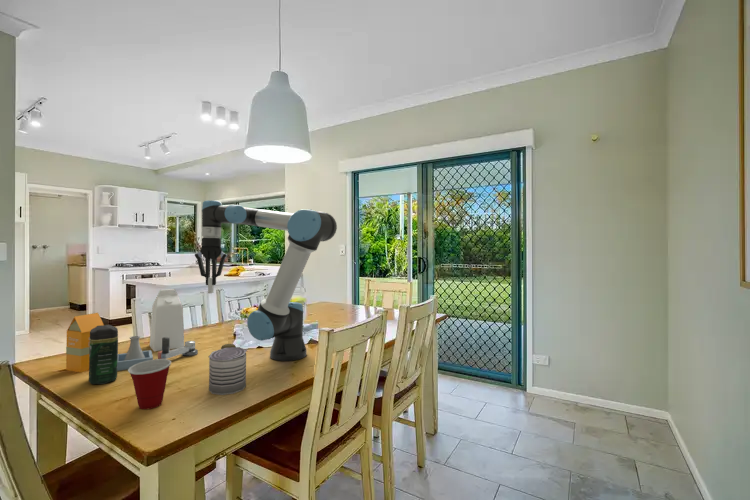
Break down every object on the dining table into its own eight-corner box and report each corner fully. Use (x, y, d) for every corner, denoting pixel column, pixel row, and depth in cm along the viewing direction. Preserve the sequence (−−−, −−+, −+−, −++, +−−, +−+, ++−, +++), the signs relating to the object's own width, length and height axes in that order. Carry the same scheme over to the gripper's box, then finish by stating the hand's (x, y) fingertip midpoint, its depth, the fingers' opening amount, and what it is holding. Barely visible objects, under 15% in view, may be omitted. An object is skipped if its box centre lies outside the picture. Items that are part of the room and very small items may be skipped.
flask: (149, 360, 147) (150, 334, 147) (136, 365, 140) (136, 339, 140) (132, 359, 148) (133, 334, 148) (118, 364, 140) (118, 338, 140)
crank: (190, 348, 160) (190, 330, 160) (197, 349, 159) (197, 330, 159) (158, 358, 145) (159, 338, 145) (166, 359, 144) (166, 339, 144)
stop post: (163, 362, 146) (163, 352, 146) (157, 363, 145) (158, 352, 145) (163, 361, 148) (163, 351, 148) (157, 361, 147) (157, 351, 147)
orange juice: (65, 370, 136) (66, 315, 135) (90, 363, 144) (91, 311, 144) (81, 372, 133) (81, 317, 133) (105, 365, 142) (106, 313, 141)
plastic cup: (120, 407, 106) (120, 365, 106) (159, 394, 115) (160, 356, 115) (138, 417, 100) (138, 373, 100) (178, 403, 109) (178, 363, 109)
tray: (152, 365, 142) (153, 357, 142) (114, 371, 135) (114, 362, 135) (151, 357, 152) (151, 350, 152) (115, 362, 145) (115, 354, 145)
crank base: (198, 355, 157) (198, 351, 157) (182, 357, 153) (182, 353, 153) (196, 351, 162) (196, 348, 162) (181, 353, 158) (181, 350, 158)
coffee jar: (118, 382, 125) (119, 327, 125) (88, 387, 120) (89, 330, 120) (116, 374, 132) (117, 322, 132) (88, 378, 128) (89, 324, 127)
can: (253, 386, 123) (253, 350, 123) (222, 398, 113) (223, 359, 113) (231, 379, 129) (232, 345, 129) (201, 389, 120) (201, 352, 120)
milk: (178, 341, 177) (179, 287, 177) (184, 347, 169) (185, 290, 168) (149, 345, 170) (150, 289, 170) (153, 351, 161) (154, 291, 161)
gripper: (192, 236, 152) (191, 294, 152) (225, 237, 154) (224, 294, 154) (198, 237, 159) (197, 291, 160) (229, 237, 161) (228, 291, 162)
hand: (210, 292), depth 157 cm, fingers closed
